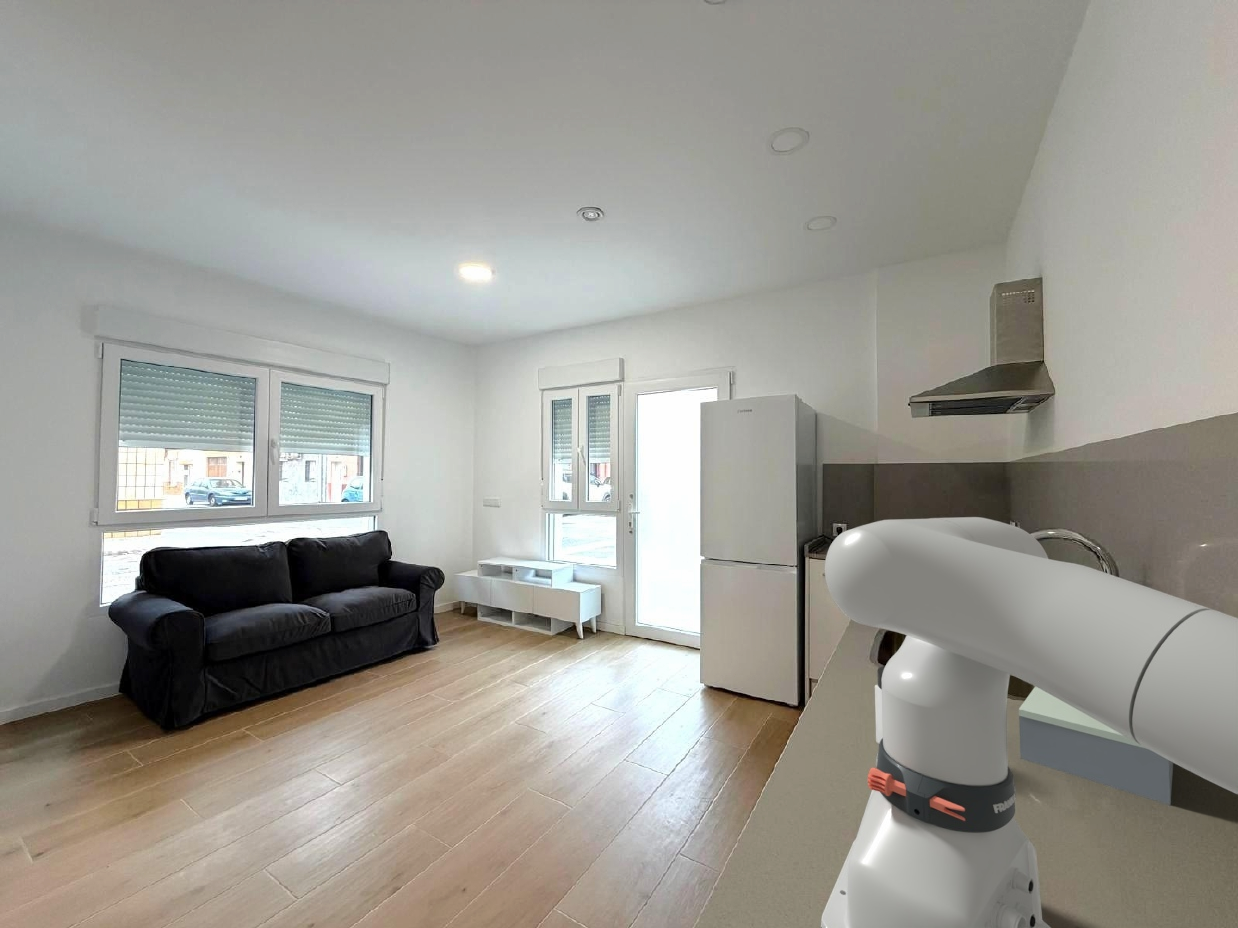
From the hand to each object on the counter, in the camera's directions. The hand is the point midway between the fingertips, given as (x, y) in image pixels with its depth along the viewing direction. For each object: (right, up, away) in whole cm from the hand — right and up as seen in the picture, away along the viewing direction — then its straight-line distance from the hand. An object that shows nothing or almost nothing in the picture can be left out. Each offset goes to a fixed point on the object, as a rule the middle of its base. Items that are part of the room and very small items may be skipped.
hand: (1139, 666), depth 76 cm
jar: (-31, -16, +7) cm, 35 cm away
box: (-3, -16, +3) cm, 17 cm away
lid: (-3, -10, +4) cm, 12 cm away
